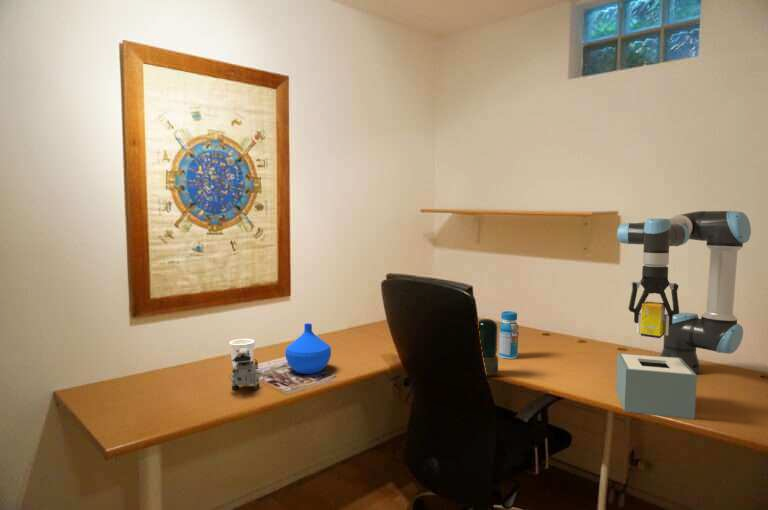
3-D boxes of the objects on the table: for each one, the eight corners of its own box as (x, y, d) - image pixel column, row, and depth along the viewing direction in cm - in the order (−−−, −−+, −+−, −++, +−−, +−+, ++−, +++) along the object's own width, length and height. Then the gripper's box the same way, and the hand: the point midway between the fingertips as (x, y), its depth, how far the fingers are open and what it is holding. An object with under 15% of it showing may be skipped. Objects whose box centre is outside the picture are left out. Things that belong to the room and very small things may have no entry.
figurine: (226, 395, 179) (224, 353, 177) (237, 384, 190) (236, 345, 189) (251, 396, 178) (250, 354, 177) (261, 385, 189) (260, 345, 188)
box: (678, 397, 178) (680, 357, 177) (694, 419, 159) (696, 375, 158) (616, 390, 184) (617, 352, 183) (624, 411, 165) (626, 369, 164)
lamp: (502, 373, 204) (503, 319, 202) (490, 379, 197) (491, 322, 195) (481, 368, 210) (482, 315, 209) (469, 373, 203) (469, 319, 201)
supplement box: (644, 332, 174) (646, 300, 173) (664, 335, 171) (665, 302, 170) (640, 335, 170) (641, 303, 169) (660, 338, 166) (661, 305, 165)
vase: (337, 365, 213) (337, 320, 212) (320, 379, 196) (320, 330, 194) (297, 362, 218) (297, 318, 217) (277, 375, 201) (276, 327, 199)
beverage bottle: (498, 358, 224) (499, 313, 223) (498, 353, 232) (499, 310, 231) (518, 360, 222) (519, 314, 221) (517, 354, 230) (519, 311, 229)
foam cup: (229, 378, 197) (229, 345, 196) (230, 371, 206) (229, 339, 205) (255, 376, 199) (254, 343, 198) (254, 369, 208) (254, 338, 207)
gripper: (687, 265, 169) (684, 333, 171) (620, 263, 175) (617, 328, 177) (693, 267, 161) (689, 338, 163) (623, 265, 168) (620, 333, 170)
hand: (652, 333), depth 170 cm, fingers closed on supplement box, 7 cm apart
